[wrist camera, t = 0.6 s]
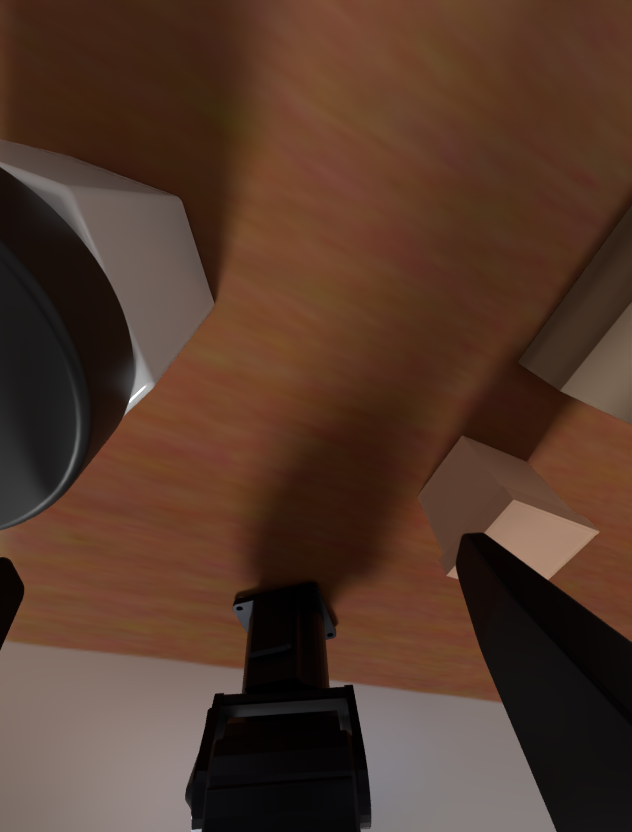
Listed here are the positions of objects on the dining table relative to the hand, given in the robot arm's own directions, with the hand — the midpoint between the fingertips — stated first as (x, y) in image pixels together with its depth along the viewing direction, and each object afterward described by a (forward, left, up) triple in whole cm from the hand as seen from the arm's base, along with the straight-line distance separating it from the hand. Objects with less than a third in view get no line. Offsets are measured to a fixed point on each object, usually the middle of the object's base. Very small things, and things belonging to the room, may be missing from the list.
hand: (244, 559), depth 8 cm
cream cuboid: (-12, -9, -13) cm, 20 cm away
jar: (+5, +6, -13) cm, 15 cm away
